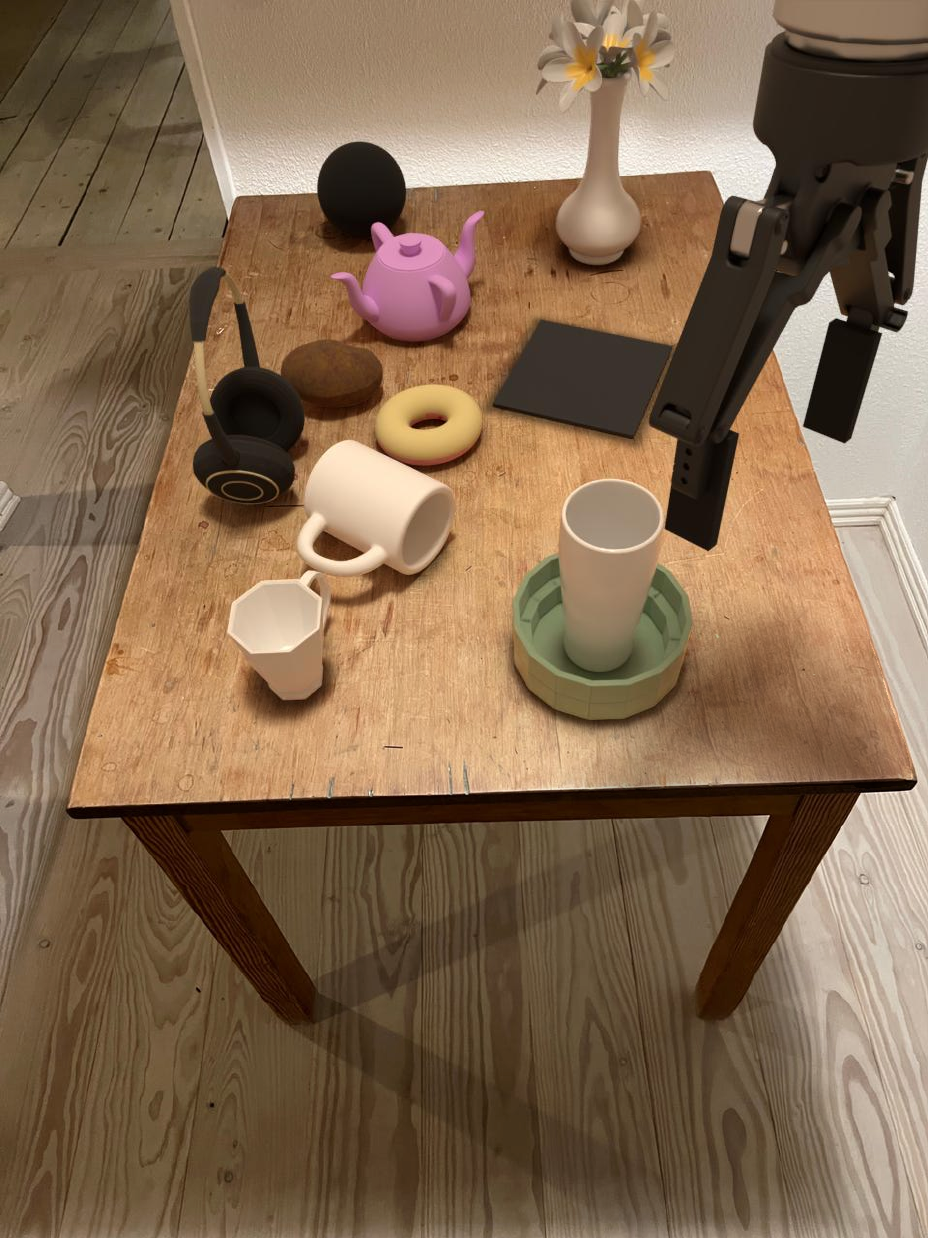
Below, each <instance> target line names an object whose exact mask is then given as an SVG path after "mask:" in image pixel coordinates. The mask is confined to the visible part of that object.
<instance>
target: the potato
mask: <svg viewBox="0 0 928 1238" xmlns="http://www.w3.org/2000/svg"><path fill="white" fill-rule="evenodd" d="M280 375H281V376H282V377H284V378H285V379H286V380H288V381H289V382H290V383H291V384H292V385H293V387H294V388H295V389H296V391H297V392H298V394H299V396H300V398H301V400H302V402H305V403H308V404H311V405H315V406H318V407H321V408H326V409H327V408H328V409H329V408H330V409H331V408H334V409H335V408H346V407H352V406H356V405H359V404H361V403H363V402H365V401H367V400H369V399H370V398H371V397H372V396H374V395H375V393H377V392H378V390H379V388H380V387H381V384H382V382H383V379H384V378H383V377H384V371H383V364H382V363H381V361H380V360H379V358H378V356H377V355H376V354H375V353H374V352H373V351H372V350H371V349H369V348H367V347H359V346H354V345H349V344H347V343H345V342H342V341H340V340H336V339H331V338H326V339H318V340H314V341H310V342H306V343H304V344H301V345H299V346H296V347H295V348H294V349H293V350H291V351H289V353H288V354H287V355H286V356H285V357H284V359H283V360H282V362H281V367H280Z"/></svg>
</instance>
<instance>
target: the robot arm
mask: <svg viewBox="0 0 928 1238" xmlns="http://www.w3.org/2000/svg"><path fill="white" fill-rule="evenodd" d="M771 15H772V18H773V19H774V21H775V23H776V24H777V25H778V26H779V27H780V28H783V30H784V31H782V32H779V33H778V34H776V35H775V36H774V37H772V40H771V42H769V43H768V44H767V45H766V46H765V47H764V55H763V60H762V67H761V72H760V77H759V84H758V90H757V94H756V95H757V96H756V101H755V108H754V113H753V120H752V129H753V133H754V135H755V137H756V138H757V140H758V141H759V142H760V143H761V144H762V145H764V146H766V147H767V148H768V150H769V151H770V153H771V154H772V156H773V158H774V161H775V166H774V169H773V172H772V175H771V178H770V180H769V184H768V186H767V188H766V191H765V193H764V195H763V198H762V199H759V200H752V199H748V198H744V197H740V196H737V195H730V196H729V197H728V198H726V200H725V202H724V203H723V205H722V208H721V211H720V215H719V218H718V223H717V228H716V234H715V236H714V237H715V238H714V242H713V247H712V251H711V256H710V258H709V261H708V264H707V266H706V269H705V271H704V274H703V277H702V279H701V282H700V284H699V286H698V290H697V292H696V295H695V297H694V300H693V302H692V305H691V308H690V311H689V313H688V316H687V317H686V321H685V323H684V326H683V328H682V331H681V334H680V336H679V338H678V341H677V344H676V347H675V349H674V352H673V354H672V356H671V360H670V362H669V365H668V367H667V370H666V372H665V374H664V377H663V380H662V382H661V386H660V389H658V392H657V396H656V398H655V401H654V403H653V406H652V409H651V411H650V414H649V418H648V425H649V427H651V428H653V429H655V430H657V431H659V432H661V433H663V434H665V435H668V436H671V437H672V438H675V439H676V445H675V453H674V460H673V465H672V472H671V479H670V489H669V495H668V503H667V510H666V514H665V515H666V516H665V521H664V527H663V530H665V531H668V532H669V533H671V534H673V535H675V536H677V537H679V538H681V539H683V540H685V541H687V542H689V543H691V544H692V545H694V546H697V547H698V548H701V549H702V550H704V551H705V552H706V551H707V552H710V551H711V550H713V548H715V547H716V546H717V545H718V542H719V536H720V531H721V527H722V521H723V516H724V512H725V511H724V510H725V507H726V502H727V496H728V490H729V486H730V482H731V476H732V471H733V466H734V461H735V458H736V457H735V456H736V451H737V447H738V443H739V437H740V433H739V432H736V431H734V430H732V429H731V428H732V426H733V425H734V422H735V421H736V419H737V417H738V415H739V412H740V411H741V410H742V407H744V405H745V402H746V400H747V398H748V396H749V395H750V393H751V391H752V390H753V387H754V385H755V383H756V382H757V380H758V378H759V376H760V374H761V373H762V371H763V368H764V367H765V365H766V363H767V361H768V359H769V358H770V356H771V354H772V353H773V350H774V349H775V346H776V345H777V343H778V341H779V339H780V337H781V335H782V333H783V331H784V330H785V328H786V326H787V324H788V322H789V321H790V319H791V317H792V315H793V313H794V311H795V310H796V308H799V307H801V306H804V305H807V304H809V303H810V302H811V301H812V300H813V298H814V297H815V294H816V292H817V291H818V289H819V288H820V285H821V284H822V282H823V279H824V278H825V277H826V276H827V275H828V274H829V276H830V278H831V283H832V286H833V287H832V288H833V289H834V290H833V291H834V294H835V298H836V302H837V306H838V309H839V312H840V315H841V316H845V317H846V320H843V319H840V318H838V317H836V318H835V317H834V318H833V320H831V321H829V322H828V325H827V329H826V333H825V337H824V341H823V345H822V347H821V353H820V356H819V359H818V360H819V361H818V365H817V369H816V373H815V377H814V380H813V384H812V389H811V393H810V397H809V400H808V404H807V408H806V413H805V416H804V420H803V424H802V427H803V428H804V429H807V430H810V431H812V432H815V433H817V434H819V435H822V436H825V437H827V438H829V439H832V440H834V441H837V442H840V443H842V444H843V445H845V444H846V443H847V442H849V441H850V440H852V437H853V434H854V431H855V427H856V425H857V424H856V423H857V421H858V417H859V414H860V410H861V407H862V404H863V400H864V397H865V393H866V390H867V387H868V383H869V380H870V377H871V374H872V370H873V367H874V363H875V361H876V360H875V359H876V356H877V353H878V349H879V346H880V343H881V339H882V336H883V332H879V331H880V328H881V329H884V330H887V331H890V332H894V333H899V332H900V331H901V330H902V329H903V327H904V325H905V324H906V322H907V319H908V316H909V315H908V314H909V311H908V310H905V309H902V308H898V307H895V304H896V305H900V306H902V307H903V306H905V305H906V304H907V303H908V301H909V300H910V299H911V297H912V295H913V294H914V293H913V291H914V286H915V274H916V263H917V251H918V240H919V239H918V238H919V227H920V226H919V225H920V216H921V215H920V214H921V203H922V202H921V201H922V189H923V180H924V176H925V172H926V168H927V164H928V0H774V4H773V10H772V14H771ZM890 273H891V274H892V276H891V275H890Z"/></svg>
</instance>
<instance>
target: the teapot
mask: <svg viewBox="0 0 928 1238" xmlns="http://www.w3.org/2000/svg"><path fill="white" fill-rule="evenodd" d="M484 215H485V211H484V210H478V211H477V212H475V213H473V214H472V215H470V217H469V218H467V220H465V222H464V224H463V226H462V229H461V235H460V242H459V246H458V248H457V250H456V251H455V253H454V254H453V253H452V252H451V251H450V249H449V248H448V247H447V246H446V245H445V244H444V243H443V242H442V241H441V240H439V239H438V238H436V237H434V236H432V235H430V234H425V233H419V232H418V233H417V232H407V233H404V234H400V235H396V236H394V234H393V233H392V232H391V231H390V229H388V228H387V227H386V226H385V225H384V224H382V223H378V222H377V223H374V224H373V225H372V227H371V234H372V238H371V239H372V243H373V247H374V250H375V254H374V256H373V258H372V260H371V261H370V264H369V266H368V267H367V270H366V272H365V274H364V278H363V281H362V288H361V286H360V284H359V282H358V280H357V277H355V275H353V274H352V273H350V272H346V271H344V272H343V271H341V272H336V273H332V274H331V275H330V278H331V279H333V280H336V281H339V282H341V283H342V284H343V285H344V286H345V289H346V292H347V297H348V301H349V304H350V306H351V308H352V310H353V311H354V312H355V313H356V314H357V316H358V317H360V318H362V319H363V320H365V321H368V323H369V324H370V325H371V326H373V327H374V328H375V329H376V330H377V331H379V332H380V333H381V334H383V335H384V336H387V337H388V338H392V339H394V340H397V341H401V342H411V343H412V342H413V343H415V342H416V343H417V342H425V341H430V340H434V339H437V338H440V337H442V336H443V335H446V334H447V333H449V332H450V331H452V330H453V329H454V328H455V327H457V325H458V324H460V322H461V321H462V320H463V319H464V318H465V316H466V315H467V313H468V311H469V309H470V306H471V301H472V300H471V299H472V298H471V297H472V296H471V290H470V286H469V282H468V280H469V279H470V277H471V275H472V274H473V271H474V269H475V265H476V245H475V234H476V230H477V226H478V224H479V222H480V221H481V220H482V218H483V216H484Z"/></svg>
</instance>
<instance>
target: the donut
mask: <svg viewBox="0 0 928 1238" xmlns="http://www.w3.org/2000/svg"><path fill="white" fill-rule="evenodd" d="M427 420H441V421H444V422H445V423H444V424H442V425H440V426H437V427H434V428H429V429H418V428H413V427H412V426H414V425H415V424H417V423H419V422H422V421H427ZM483 423H484V420H483V414H482V411H481V408H480V406H479V404H478V403H477V401H476V400H475V399H474V398H473V397H472V396H471V395H470V394H468V393H467V392H465V391H463V390H462V389H459V388H457V387H454V386H450V385H447V384H435V383H434V384H433V383H432V384H422V385H416V386H412V387H409V388H407V389H404V390H402V391H399V392H398V393H396V394H394V395H393V396H391V397H390V398H389V399H387V400H386V401H385V403H384V404H383V405H382V406H381V408H380V409H379V411H378V412H377V415H376V418H375V420H374V434H375V439H376V441H377V444H378V445H379V447H380V448H381V449H382V450H383V451H384V452H385V454H387V455H388V456H389V457H390V458H392V459H394V460H396V461H398V462H400V463H403V464H408V465H412V466H413V465H414V466H435V465H440V464H444V463H447V462H451V461H453V460H455V459H458V458H459V457H461V456H462V455H464V454H465V453H467V452H468V451H469V450H471V448H473V446H474V445H475V444H476V443H477V441H478V439H479V438H480V435H481V433H482V430H483Z"/></svg>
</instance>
